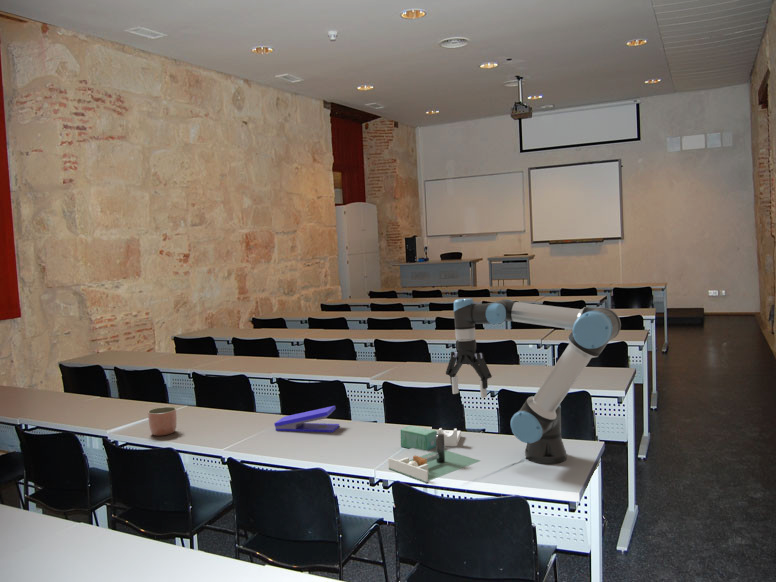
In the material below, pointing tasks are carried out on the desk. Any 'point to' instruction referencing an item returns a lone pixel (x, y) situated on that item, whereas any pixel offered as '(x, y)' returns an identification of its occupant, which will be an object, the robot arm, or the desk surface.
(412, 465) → the ball
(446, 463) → the pitch
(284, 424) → the stapler
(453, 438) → the bracket
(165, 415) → the planter
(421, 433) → the box
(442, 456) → the small squeegee
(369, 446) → the desk surface
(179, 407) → the desk surface
